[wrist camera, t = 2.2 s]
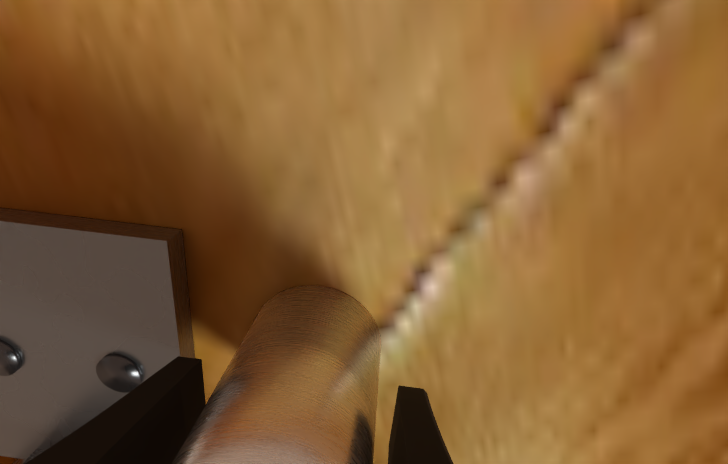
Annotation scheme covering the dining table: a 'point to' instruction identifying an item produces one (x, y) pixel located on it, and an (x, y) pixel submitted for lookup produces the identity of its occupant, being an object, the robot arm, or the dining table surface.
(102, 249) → the bracket
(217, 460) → the hinge pin
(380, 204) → the dining table surface
